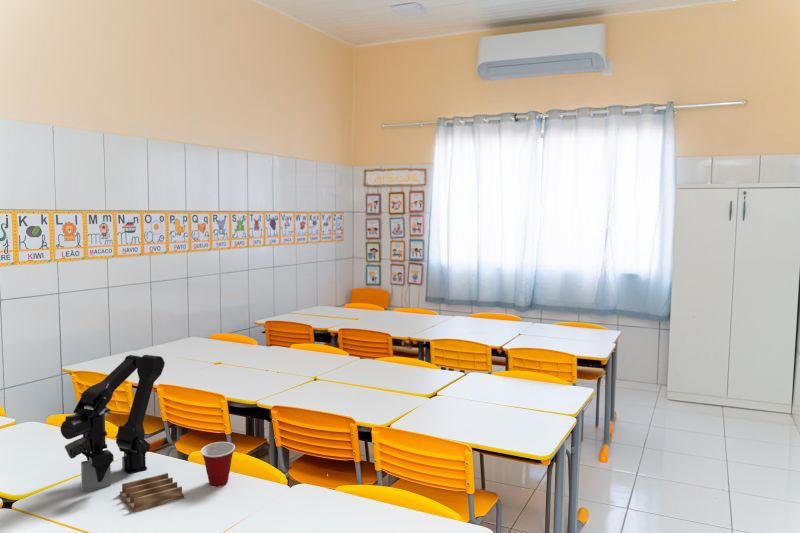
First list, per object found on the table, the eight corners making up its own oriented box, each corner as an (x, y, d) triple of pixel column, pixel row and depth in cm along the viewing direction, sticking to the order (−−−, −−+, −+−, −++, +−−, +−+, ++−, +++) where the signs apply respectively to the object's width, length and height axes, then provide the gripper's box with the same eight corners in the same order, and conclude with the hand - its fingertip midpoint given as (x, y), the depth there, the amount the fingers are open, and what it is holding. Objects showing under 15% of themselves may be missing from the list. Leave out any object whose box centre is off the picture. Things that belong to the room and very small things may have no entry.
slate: (108, 483, 202) (108, 456, 201) (110, 485, 200) (110, 458, 200) (81, 489, 197) (81, 461, 196) (83, 492, 195) (82, 464, 195)
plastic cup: (193, 487, 200) (193, 450, 199) (215, 474, 210) (215, 439, 209) (221, 493, 196) (220, 456, 195) (242, 480, 206) (242, 444, 205)
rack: (168, 482, 203) (168, 472, 203) (184, 498, 192) (184, 487, 192) (120, 494, 194) (119, 483, 193) (133, 511, 183) (133, 500, 183)
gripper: (60, 426, 199) (61, 473, 201) (73, 443, 185) (74, 494, 186) (98, 419, 206) (99, 465, 208) (113, 435, 192) (114, 484, 193)
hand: (96, 476), depth 198 cm, fingers open, 9 cm apart
